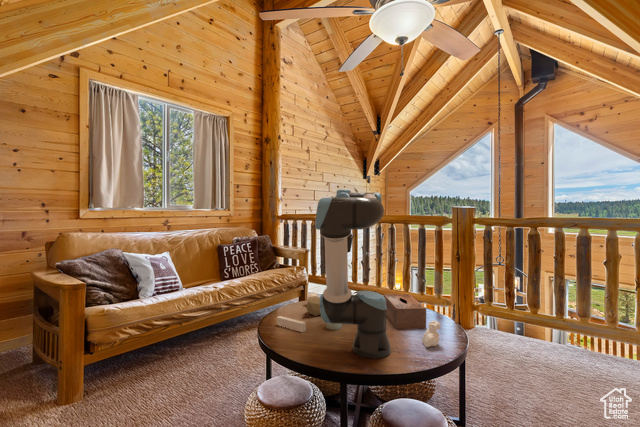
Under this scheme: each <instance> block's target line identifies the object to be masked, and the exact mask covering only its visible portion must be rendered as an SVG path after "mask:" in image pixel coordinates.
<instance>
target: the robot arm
mask: <svg viewBox="0 0 640 427" xmlns="http://www.w3.org/2000/svg"><path fill="white" fill-rule="evenodd" d="M335 194H336V195H335V196H330V197H321V198H320V199H319V200H318V202H317V206H316V213H315V214H316V215H315V223H314V225H315V226H314V227H315V230H319V234H320V236H322V238H324V256H325V260H324V261H325V262H324V263H325V280H326V287H325V289H324V291H323V292H322V294H320V296H319V297H320V314H321V315H320V317H321V320H322V321H323V322H324V323H325V324H326V323H331V324H342V325H357V326H356V329H357V330H356V333H355V336H354V340H353V343H352V350H353V352H354V353H355V354H356V355H358V356H359V357H362V358H368V359H383V358H387V357H388V356H389V355H390V354H391V343H390V341H389V338H388V334H387V316H386V309H387V307H386V299H385V297H384V294H383V295H382V294H381V293H379V292H376V291H375V292H374V291H371V290H359V291H357V293H356V294H352V293H353V292H352V290H351V289H350V287H349V273H348V272H349V271H348V270H349V269H348V265H349V264H348V263H349V261H348V260H349V258H348V253H350V252H351V250H352V244H353V239H354V237H355V234H354V233H352V231H353V230H366V229H368V228H371V227H373V226H375V225H377V224H378V223H379V222H380V221H381V220H382V219H383V217H384V213H385V208H384V205H383V203H382V194H381V192H375V191H374V192H351V189H337V190H336V193H335Z"/></svg>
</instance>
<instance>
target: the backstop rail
mask: <svg viewBox="0 0 640 427" xmlns="http://www.w3.org/2000/svg"><path fill="white" fill-rule="evenodd" d="M277 325H279V326H278V327H281V326H282V328H285V327H286V329H288V328H289V330H293V331H297V332H300V333H305V332H306V325H307V324H306V322H305V321H302V320H298V319H294V318H289V317H285V316H283V315H282V316H281V315H279V316H277V317H276V326H277Z"/></svg>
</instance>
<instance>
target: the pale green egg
mask: <svg viewBox="0 0 640 427" xmlns="http://www.w3.org/2000/svg"><path fill="white" fill-rule="evenodd" d="M325 328H327V329H329V330H334V331H335V330H337V331H338V330H341V329H343V324H331V323H326V322H325Z"/></svg>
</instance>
